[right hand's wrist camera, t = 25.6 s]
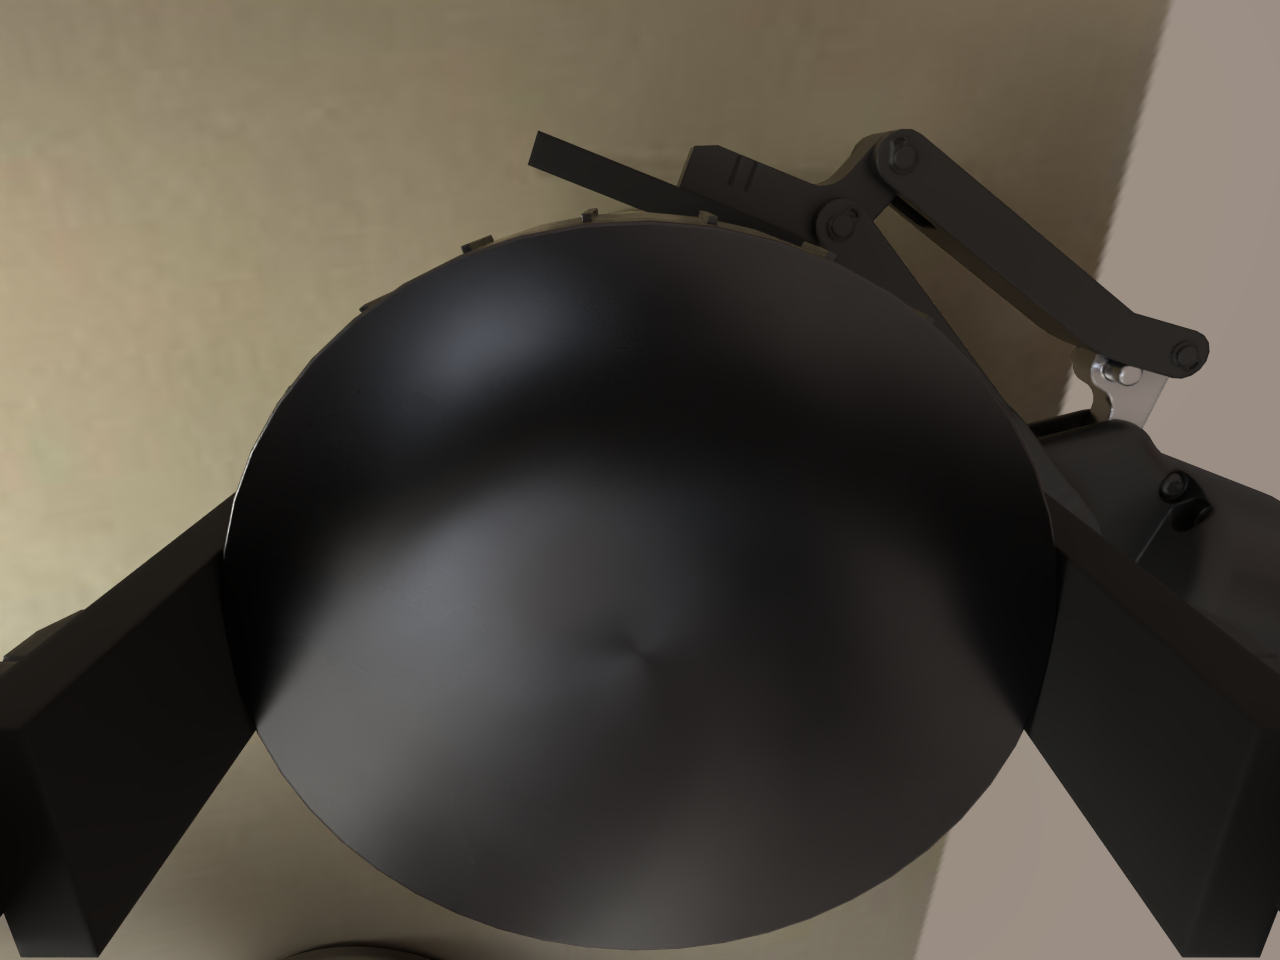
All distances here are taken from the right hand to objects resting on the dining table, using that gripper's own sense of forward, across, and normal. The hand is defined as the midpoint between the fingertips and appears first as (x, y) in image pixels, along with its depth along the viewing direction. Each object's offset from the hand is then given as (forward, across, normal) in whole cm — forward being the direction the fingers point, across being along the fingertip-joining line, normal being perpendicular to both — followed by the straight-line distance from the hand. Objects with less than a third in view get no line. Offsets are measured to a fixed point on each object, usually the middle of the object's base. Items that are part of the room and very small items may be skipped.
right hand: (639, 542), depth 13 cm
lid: (-3, 0, 0) cm, 3 cm away
